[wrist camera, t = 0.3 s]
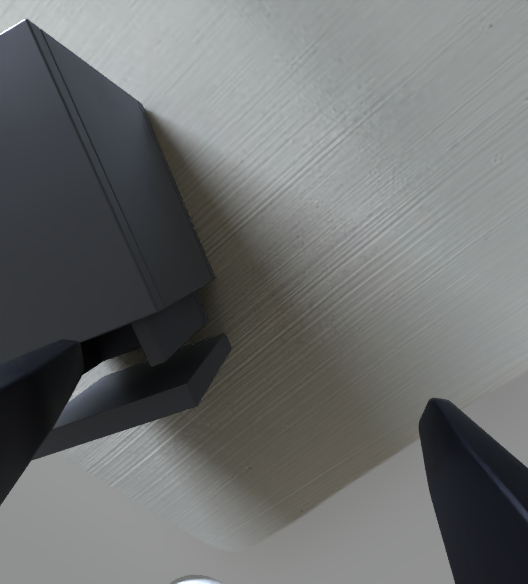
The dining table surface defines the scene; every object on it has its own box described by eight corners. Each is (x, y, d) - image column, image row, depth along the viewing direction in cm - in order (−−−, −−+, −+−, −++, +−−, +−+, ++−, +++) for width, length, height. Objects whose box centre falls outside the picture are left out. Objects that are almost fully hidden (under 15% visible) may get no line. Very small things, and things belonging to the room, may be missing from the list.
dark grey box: (216, 278, 24) (159, 312, 14) (81, 331, 26) (-45, 391, 16) (142, 103, 22) (25, 16, 13) (4, 173, 24) (-182, 142, 15)
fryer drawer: (239, 364, 24) (207, 429, 16) (116, 406, 25) (37, 482, 18) (165, 192, 22) (93, 176, 15) (40, 249, 24) (-82, 260, 16)
